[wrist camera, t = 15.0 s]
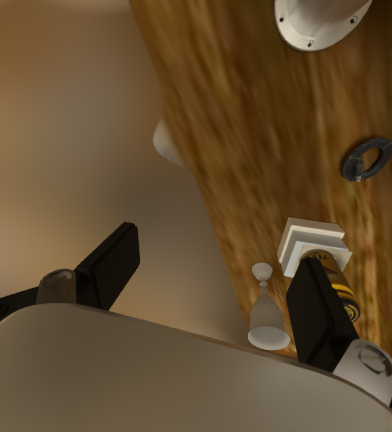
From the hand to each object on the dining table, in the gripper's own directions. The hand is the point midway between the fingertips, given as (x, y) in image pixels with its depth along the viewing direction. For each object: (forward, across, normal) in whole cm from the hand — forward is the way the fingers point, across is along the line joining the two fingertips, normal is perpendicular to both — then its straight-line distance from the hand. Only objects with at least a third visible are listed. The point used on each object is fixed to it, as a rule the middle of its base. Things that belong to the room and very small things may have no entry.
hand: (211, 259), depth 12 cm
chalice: (+34, -12, +29) cm, 46 cm away
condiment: (+26, -20, +18) cm, 37 cm away
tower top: (+30, -19, +18) cm, 40 cm away
